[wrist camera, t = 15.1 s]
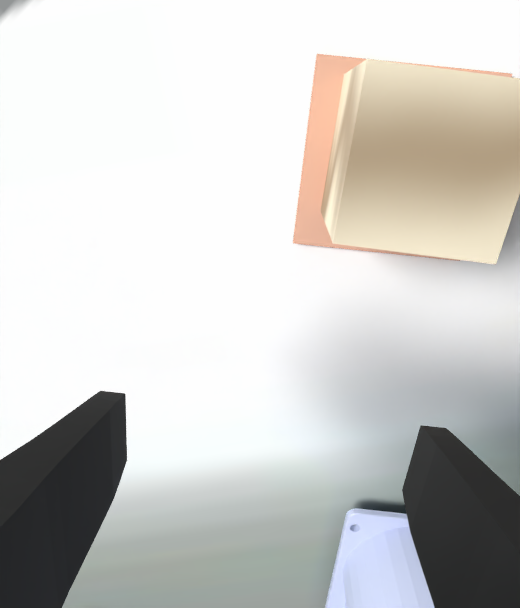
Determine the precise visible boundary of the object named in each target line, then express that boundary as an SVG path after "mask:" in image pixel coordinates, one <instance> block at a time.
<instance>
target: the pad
mask: <svg viewBox="0 0 520 608" xmlns="http://www.w3.org/2000/svg"><path fill="white" fill-rule="evenodd" d="M365 60H366V59H362V58H352V57H342V56H332V55H323V54H317V57H316V65H315V72H314V80H313V88H312V96H311V104H310V112H309V120H308V128H307V136H306V144H305V151H304V159H303V167H302V175H301V183H300V191H299V199H298V207H297V215H296V223H295V230H294V238H293V243H296V244H305V245H315V246H324V247H334V248H343V249H353V250H362V251H372V252H381V253H391V254H400V255H410V256H419V257H429V258H438V259H448V260H457V259H449V258H441V257H433V256H426V255H418V254H410V253H402V252H395V251H387V250H379V249H371V248H364V247H356V246H348V245H340V244H333V243H332V240H331V237H330V235H329V232H328V229H327V227H326V224H325V222H324V219H323V216H322V214H321V205H322V200H323V194H324V188H325V182H326V176H327V170H328V165H329V159H330V153H331V147H332V141H333V135H334V130H335V124H336V118H337V112H338V106H339V100H340V95H341V89H342V83H343V77H344V74H345V73H347V72H348V71H350V70H351V69H353V68H354V67H356V66H357V65H359V64H360V63H362V62H363V61H365ZM381 61H382V60H381ZM389 62H391V61H389ZM397 63H401V62H397ZM404 64H411V63H404ZM412 65H420V66H428V67H435V68H443V69H451V70H458V71H466V72H474V73H481V74H489V75H497V76H505V77H512V74H509V73H499V72H489V71H480V70H470V69H460V68H450V67H440V66H431V65H421V64H412ZM457 261H460V260H457Z"/></svg>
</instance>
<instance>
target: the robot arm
mask: <svg viewBox="0 0 520 608" xmlns="http://www.w3.org/2000/svg"><path fill="white" fill-rule="evenodd" d="M126 461H127V445H126V405H125V394H124V393H114V392H105V391H100V392H98V393H97V394H95V395H94V396H93V397H91V398H90V399H88V400H87V401H86V402H84V403H83V404H81V405H80V406H79V407H77V408H76V409H75V410H73V411H72V412H71V413H69V414H68V415H66V416H65V417H64V418H62V419H61V420H59V421H58V422H57V423H55V424H54V425H52V426H51V427H50V428H48V429H47V430H45V431H44V432H42V433H41V434H40V435H38V436H37V437H35V438H34V439H32V440H31V441H29V442H28V443H26V444H25V445H23V446H21V447H20V448H18V449H17V450H15V451H14V452H12V453H11V454H9V455H7V456H6V457H4V458H3V459H1V460H0V608H62V606H63V604H64V601H65V599H66V597H67V595H68V592H69V590H70V588H71V586H72V584H73V582H74V580H75V578H76V576H77V574H78V572H79V570H80V568H81V565H82V563H83V561H84V559H85V557H86V555H87V553H88V551H89V549H90V547H91V545H92V543H93V541H94V539H95V537H96V535H97V533H98V531H99V528H100V526H101V524H102V522H103V520H104V518H105V516H106V514H107V512H108V510H109V508H110V505H111V503H112V501H113V499H114V496H115V493H116V491H117V488H118V485H119V482H120V479H121V476H122V473H123V470H124V467H125V464H126ZM402 491H403V496H404V502H405V508H406V513H407V514H404V513H394V512H385V511H376V510H367V509H358V508H354V509H351V510H349V511H348V512H347V514H346V517H345V522H344V526H343V530H342V535H341V539H340V544H339V548H338V552H337V557H336V561H335V565H334V570H333V574H332V579H331V583H330V587H329V592H328V596H327V600H326V605H325V608H520V496H519V495H518V494H517V493H516V492H515V491H513V490H512V489H511V488H510V487H509V486H508V485H507V484H506V483H505V482H504V481H502V480H501V479H500V478H499V477H498V476H497V475H496V474H495V473H494V472H493V471H492V470H491V469H490V468H489V467H487V466H486V465H485V464H484V463H483V462H482V461H481V460H480V459H479V458H478V457H477V456H476V455H475V454H474V453H473V452H472V451H471V450H470V449H468V448H467V447H466V446H465V445H464V444H463V443H462V442H461V441H460V440H459V439H458V438H457V437H456V436H454V435H453V434H452V433H451V432H450V431H449V430H448V429H446V428H439V427H430V426H421V427H420V430H419V434H418V437H417V441H416V444H415V448H414V451H413V455H412V458H411V462H410V465H409V469H408V472H407V476H406V479H405V483H404V486H403V490H402ZM354 524H356V525H354Z"/></svg>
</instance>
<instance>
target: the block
mask: <svg viewBox="0 0 520 608" xmlns="http://www.w3.org/2000/svg"><path fill="white" fill-rule="evenodd" d="M519 195H520V78H512V77H505V76H497V75H489V74H481V73H474V72H466V71H458V70H451V69H443V68H435V67H428V66H420V65H412V64H404V63H397V62H389V61H381V60H374V59H366V60H365V61H363V62H362V63H360V64H359V65H357V66H356V67H354V68H353V69H351V70H350V71H348V72H347V73H345V74H344V77H343V83H342V89H341V95H340V100H339V106H338V112H337V118H336V124H335V130H334V135H333V141H332V147H331V153H330V159H329V165H328V170H327V176H326V182H325V188H324V194H323V200H322V205H321V214H322V216H323V219H324V222H325V224H326V227H327V229H328V232H329V235H330V237H331V240H332V243H333V244H340V245H348V246H356V247H364V248H371V249H379V250H387V251H395V252H402V253H410V254H418V255H426V256H433V257H441V258H449V259H457V260H464V261H472V262H480V263H488V264H495V265H496V263H497V260H498V257H499V254H500V251H501V248H502V245H503V242H504V239H505V236H506V233H507V230H508V227H509V224H510V221H511V218H512V215H513V212H514V209H515V206H516V203H517V200H518V198H519Z"/></svg>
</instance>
